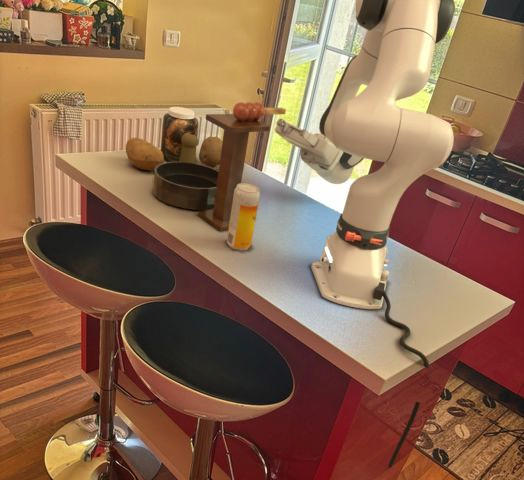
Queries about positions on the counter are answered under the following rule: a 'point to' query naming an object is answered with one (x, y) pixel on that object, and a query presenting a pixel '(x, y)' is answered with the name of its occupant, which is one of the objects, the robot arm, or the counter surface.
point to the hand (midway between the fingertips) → (291, 126)
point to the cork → (188, 148)
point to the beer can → (243, 216)
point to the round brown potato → (211, 151)
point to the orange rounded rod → (254, 111)
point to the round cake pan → (186, 185)
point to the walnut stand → (229, 165)
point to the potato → (143, 154)
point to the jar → (177, 131)
